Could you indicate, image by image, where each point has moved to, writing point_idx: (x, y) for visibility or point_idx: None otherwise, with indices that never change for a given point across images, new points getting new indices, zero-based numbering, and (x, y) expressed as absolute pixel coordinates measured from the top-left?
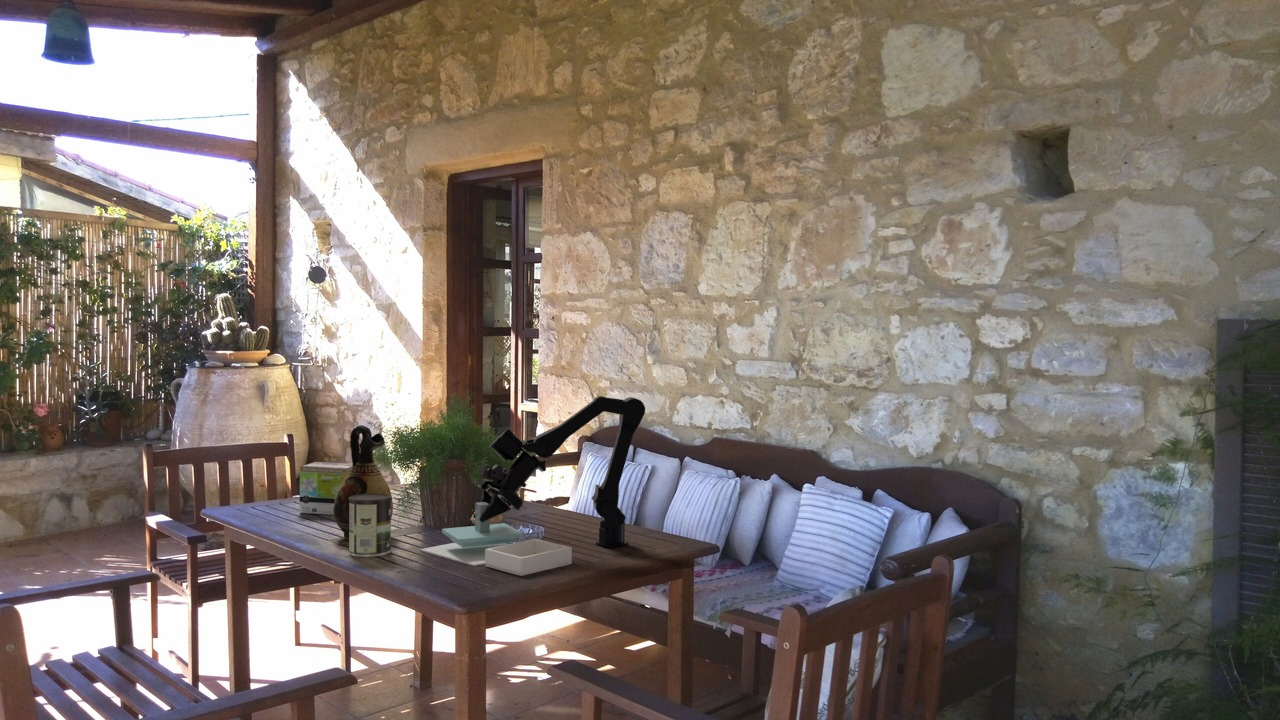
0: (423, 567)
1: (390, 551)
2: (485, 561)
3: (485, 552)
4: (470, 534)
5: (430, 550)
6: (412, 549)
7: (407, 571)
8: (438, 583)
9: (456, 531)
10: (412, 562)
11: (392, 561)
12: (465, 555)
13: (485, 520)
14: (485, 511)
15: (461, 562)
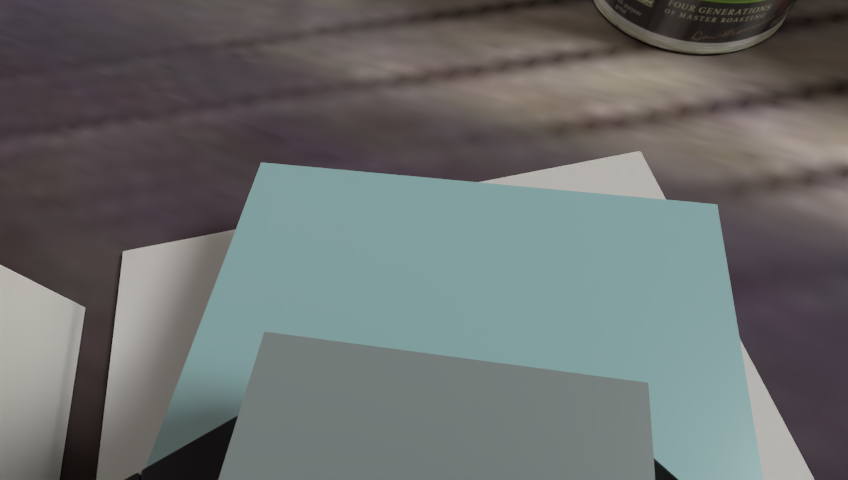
0: (293, 72)
1: (648, 39)
2: (60, 299)
3: (13, 274)
4: (361, 308)
5: (583, 184)
6: (691, 138)
7: (278, 15)
8: (35, 44)
9: (549, 259)
10: (408, 64)
11: (473, 15)
12: None
13: None
14: (216, 437)
15: None
